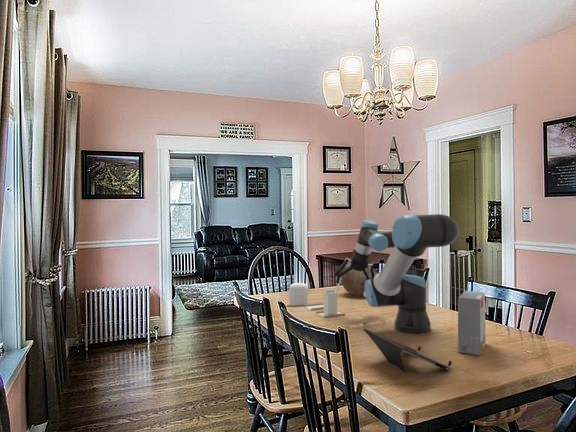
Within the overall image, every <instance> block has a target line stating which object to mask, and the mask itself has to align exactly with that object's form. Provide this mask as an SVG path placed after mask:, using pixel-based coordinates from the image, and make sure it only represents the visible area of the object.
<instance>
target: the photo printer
mask: <svg viewBox="0 0 576 432" xmlns="http://www.w3.org/2000/svg"><path fill="white" fill-rule="evenodd" d="M288 289H289V292H288V293H289V298H288V299H289V302H288V303H289V307H295V306H297V307H298V306H304V305H306V304H309V303H308V302H309V301H308V300H309V298H308V294H309V293H308V291H309V290H308V285H307V283H303V282H295V283H292V284H289V287H288Z"/></svg>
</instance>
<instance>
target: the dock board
mask: <svg viewBox="0 0 576 432" xmlns="http://www.w3.org/2000/svg"><path fill="white" fill-rule="evenodd" d="M303 308H306V309H308V310H310V311H315V313H316V314H317V315H319V316H321V317H322V318H324V319H328V318H329V319H330V318H336V317H345V316H346V313H345V312H343V313H342V312H340V311H337V314H333V315H325V314H324V302H317V303H308V304H306V305H303Z"/></svg>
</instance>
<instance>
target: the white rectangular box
mask: <svg viewBox="0 0 576 432" xmlns="http://www.w3.org/2000/svg"><path fill="white" fill-rule="evenodd" d="M322 293H323V294H322V295H323V304H324V309H323V311H324V314H325V315H333V314H337V312H338V292H336V291H335V289H333V288H332V289H325V290H324V291H323V292H322Z"/></svg>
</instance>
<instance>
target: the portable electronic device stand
mask: <svg viewBox="0 0 576 432" xmlns="http://www.w3.org/2000/svg"><path fill="white" fill-rule="evenodd" d="M362 330H363V331H364V332H365V333H366V334H367V336H369V338H370V339H371V340H372V341H373V343H374V344H375V345H376V346H377V348H378V349H379V350H380V352H381V354H382V355H383V357H384V358H385V360H386V361H387V362H388V363H389V364H391V365H393V366H394V367H396V368H398V369H400V370H401V371H403V372H404V373H407V369H406V367H405V365H404V362H403V359H402V352H403V353H406V354H408V355H411V356H413V357H415V358H418V359H420V360H422V361H425V362H427V363H429V364H432V365H434V366H436V367H438V368H439V369H441V370H443V371H445V372H447V370H450V369H451V367H452V366H451V365H452V363H453V362H452V361H451V360H449V361H448V363H447V365H445V364H444V363H441V362H439V361H436V360H434V359H432V358H429V357H427V356H424V355H422V354H421V353H420V351H421V349H422V346H420V345H419V346H418V348H417V350H415V349H413V348H411V347H409V346H407V345H404V344H402V343H400V342H397V341H395V340H393V339H390V338H388V337H386V336H383V335H381V334H379V333H377V332H374V331H372V330H369V329H367V328H365V327H363V329H362Z"/></svg>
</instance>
